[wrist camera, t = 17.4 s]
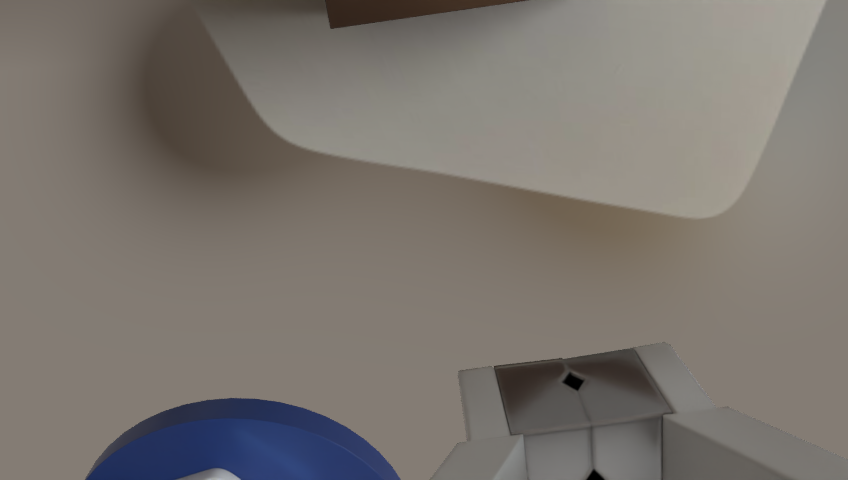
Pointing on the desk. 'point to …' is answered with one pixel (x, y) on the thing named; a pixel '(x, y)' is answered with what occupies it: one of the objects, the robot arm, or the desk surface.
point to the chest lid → (395, 9)
